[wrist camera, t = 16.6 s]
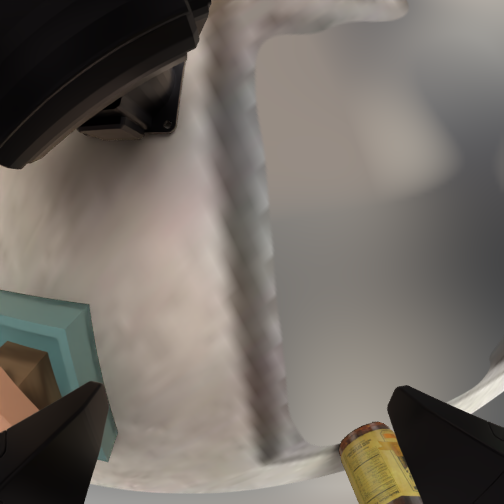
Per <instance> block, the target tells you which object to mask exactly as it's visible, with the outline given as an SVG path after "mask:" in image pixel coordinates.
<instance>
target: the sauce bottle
mask: <svg viewBox="0 0 504 504" xmlns="http://www.w3.org/2000/svg"><path fill="white" fill-rule="evenodd" d="M339 453H340V456H341V461H342V464H343V466H344V468H345V471H346V473H347V476H348V478H349V481H350V483H351V486H352V488H353V490H354V493H355V495H356V497H357V500H358V502H359V504H423V502H422V500H421V497H420V495H419V492H418V490H417V487H416V485H415V483H414V480H413V478H412V475H411V473H410V471H409V468H408V466H407V464H406V461H405V459H404V457H403V455H402V452H401V450H400V447H399V445H398V442H397V439H396V436H395V433H394V432H393V431H392V430H390V428H389V427H388V426H386V425H385V424H384V423H380V422H372V423H370V424H366V425H363V426H361V427H359V428H357V429H355V430H354V431H352V432H351V433H350V434H348V435H347V436H346V437H345V438H344V439H343V440H342V441H341V444H340V448H339Z"/></svg>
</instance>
